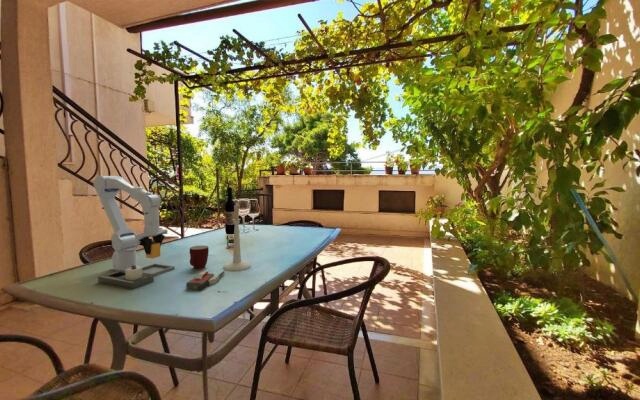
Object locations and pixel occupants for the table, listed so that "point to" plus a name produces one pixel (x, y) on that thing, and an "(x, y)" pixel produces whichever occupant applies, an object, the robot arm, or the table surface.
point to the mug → (198, 256)
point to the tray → (156, 269)
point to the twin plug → (133, 273)
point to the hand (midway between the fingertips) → (152, 252)
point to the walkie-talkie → (202, 281)
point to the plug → (154, 250)
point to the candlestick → (236, 248)
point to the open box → (124, 280)
